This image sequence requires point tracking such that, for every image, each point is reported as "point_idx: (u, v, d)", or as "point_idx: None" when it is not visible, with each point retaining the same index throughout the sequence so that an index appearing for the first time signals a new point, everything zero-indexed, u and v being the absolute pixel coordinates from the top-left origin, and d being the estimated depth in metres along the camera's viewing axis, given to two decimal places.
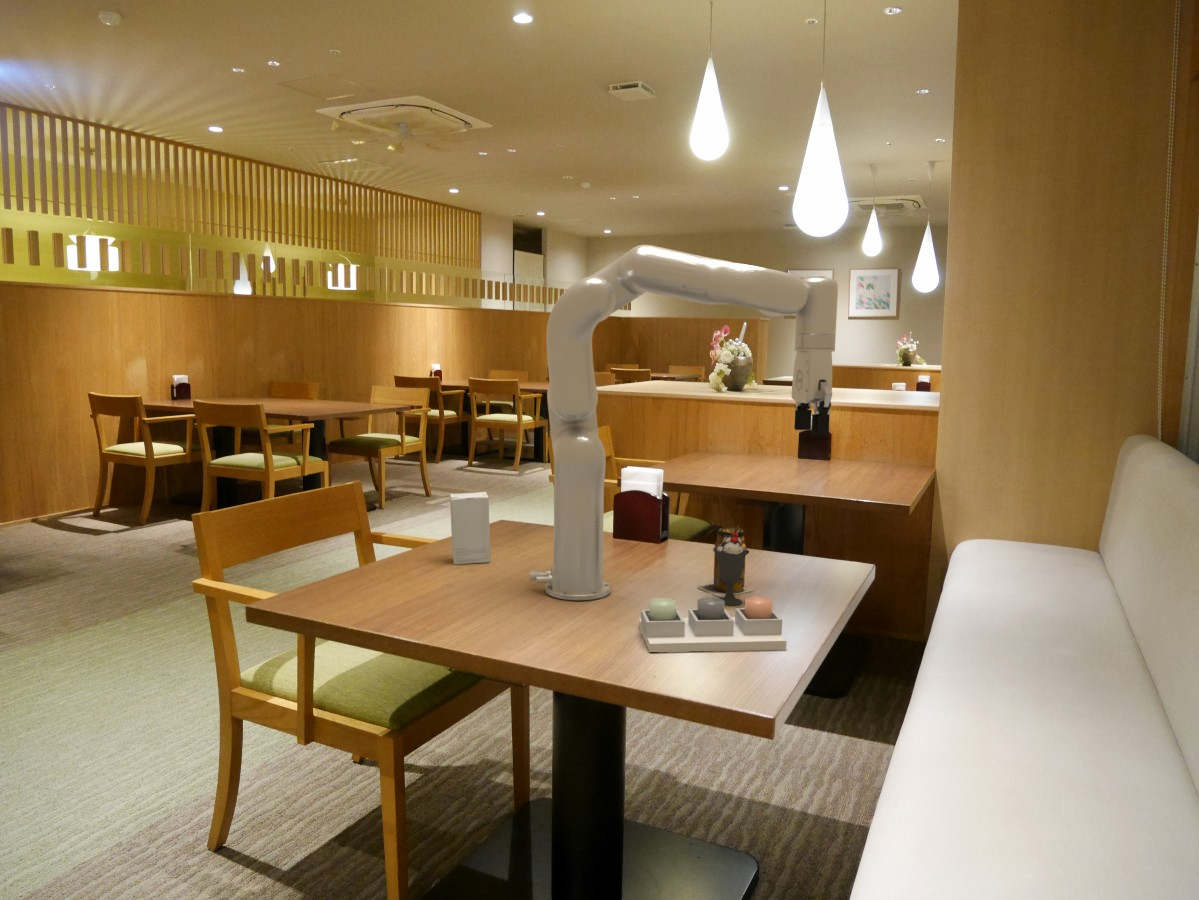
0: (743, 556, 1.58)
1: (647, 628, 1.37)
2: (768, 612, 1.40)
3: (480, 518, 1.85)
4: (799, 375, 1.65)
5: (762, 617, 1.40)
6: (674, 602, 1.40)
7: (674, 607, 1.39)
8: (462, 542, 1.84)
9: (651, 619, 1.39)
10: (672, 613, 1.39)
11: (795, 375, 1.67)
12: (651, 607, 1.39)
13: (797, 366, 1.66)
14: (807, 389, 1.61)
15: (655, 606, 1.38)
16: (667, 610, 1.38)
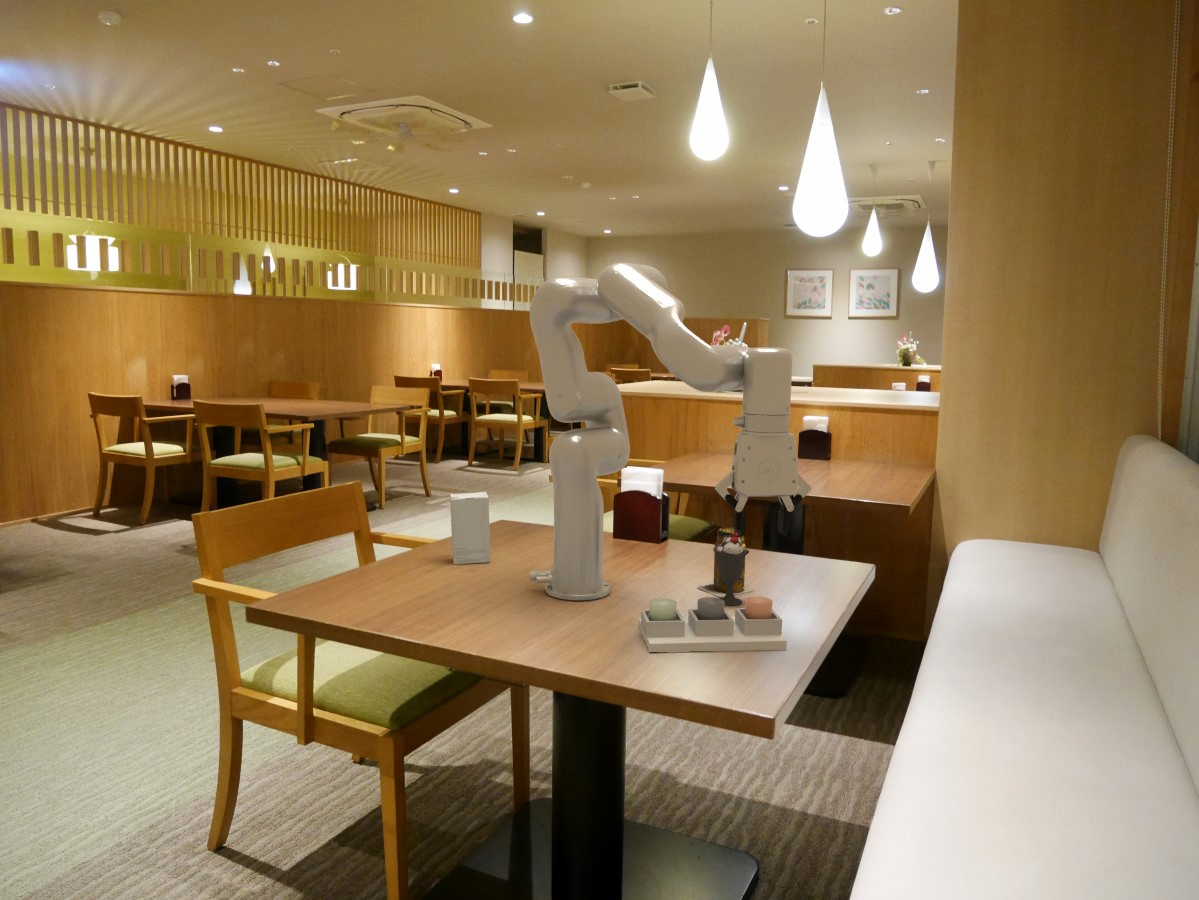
0: (743, 556, 1.58)
1: (647, 628, 1.37)
2: (768, 612, 1.40)
3: (480, 518, 1.85)
4: (767, 465, 1.36)
5: (762, 617, 1.40)
6: (674, 602, 1.40)
7: (674, 607, 1.39)
8: (462, 542, 1.84)
9: (651, 619, 1.39)
10: (672, 613, 1.39)
11: (754, 465, 1.36)
12: (651, 607, 1.39)
13: (761, 454, 1.36)
14: (795, 479, 1.37)
15: (655, 606, 1.38)
16: (667, 610, 1.38)
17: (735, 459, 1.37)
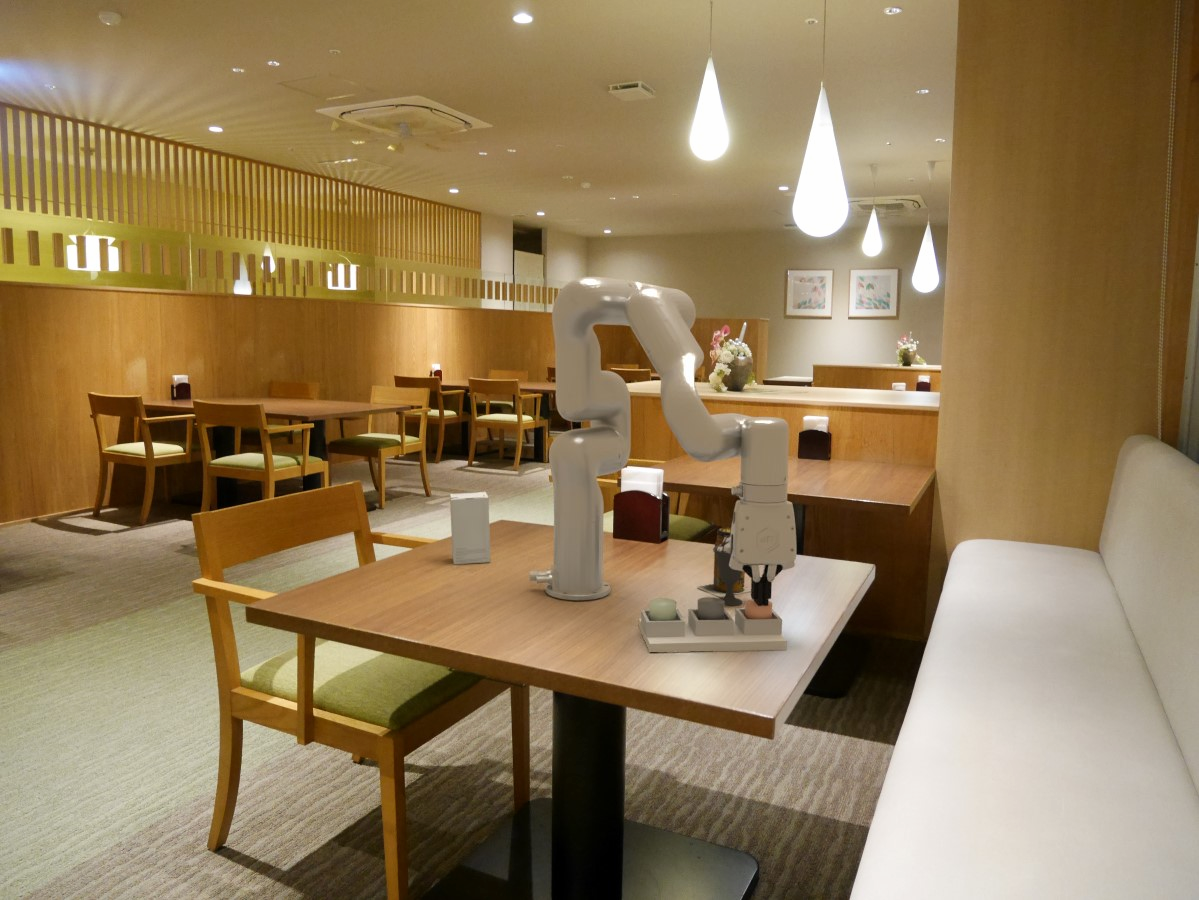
0: None
1: (647, 628, 1.37)
2: (768, 615, 1.40)
3: (480, 518, 1.85)
4: (766, 534, 1.37)
5: None
6: (674, 602, 1.40)
7: (674, 607, 1.39)
8: (462, 542, 1.84)
9: (651, 619, 1.39)
10: (672, 613, 1.39)
11: (752, 535, 1.37)
12: (651, 607, 1.39)
13: (759, 524, 1.37)
14: (793, 548, 1.38)
15: (655, 606, 1.38)
16: (667, 610, 1.38)
17: (734, 528, 1.39)
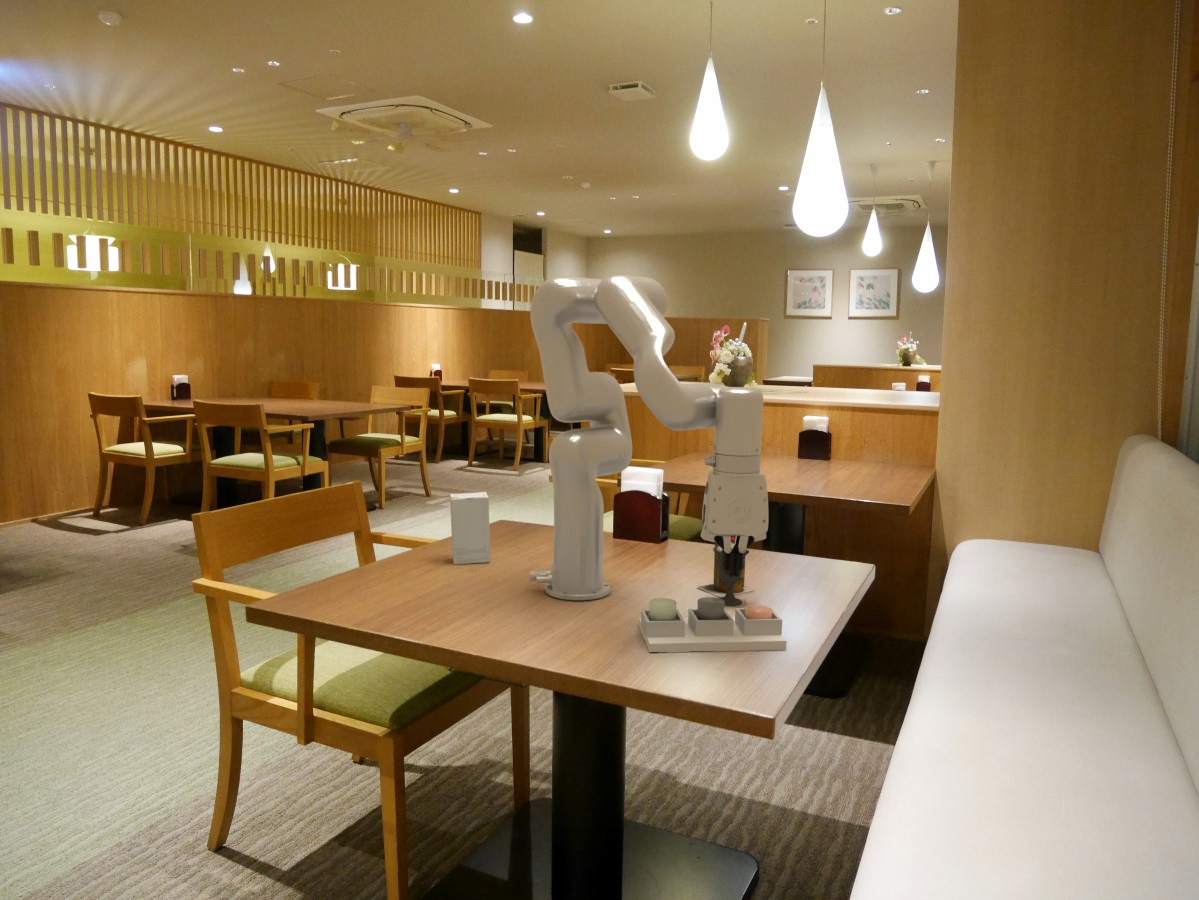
0: (743, 556, 1.58)
1: (647, 628, 1.37)
2: None
3: (480, 518, 1.85)
4: (738, 505, 1.37)
5: None
6: (674, 602, 1.40)
7: (674, 607, 1.39)
8: (462, 542, 1.84)
9: (651, 619, 1.39)
10: (672, 613, 1.39)
11: (724, 505, 1.36)
12: (651, 607, 1.39)
13: (731, 494, 1.36)
14: (765, 519, 1.38)
15: (655, 606, 1.38)
16: (667, 610, 1.38)
17: (706, 498, 1.38)
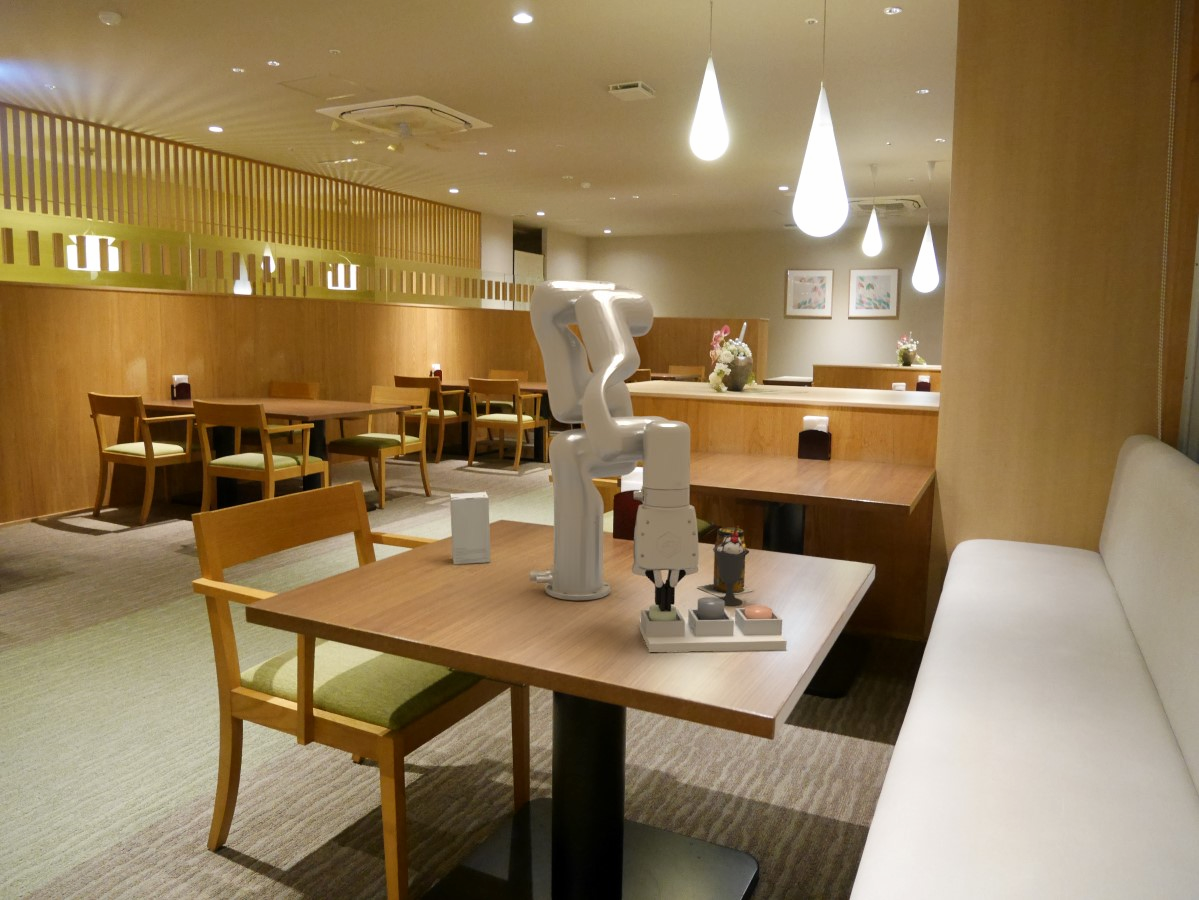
0: (743, 556, 1.58)
1: (647, 628, 1.37)
2: None
3: (480, 518, 1.85)
4: (667, 539, 1.36)
5: None
6: (674, 608, 1.40)
7: (674, 613, 1.39)
8: (462, 542, 1.84)
9: None
10: (671, 619, 1.39)
11: (653, 539, 1.36)
12: (651, 613, 1.39)
13: (660, 528, 1.35)
14: (695, 553, 1.37)
15: (655, 613, 1.39)
16: (667, 616, 1.38)
17: (635, 533, 1.37)
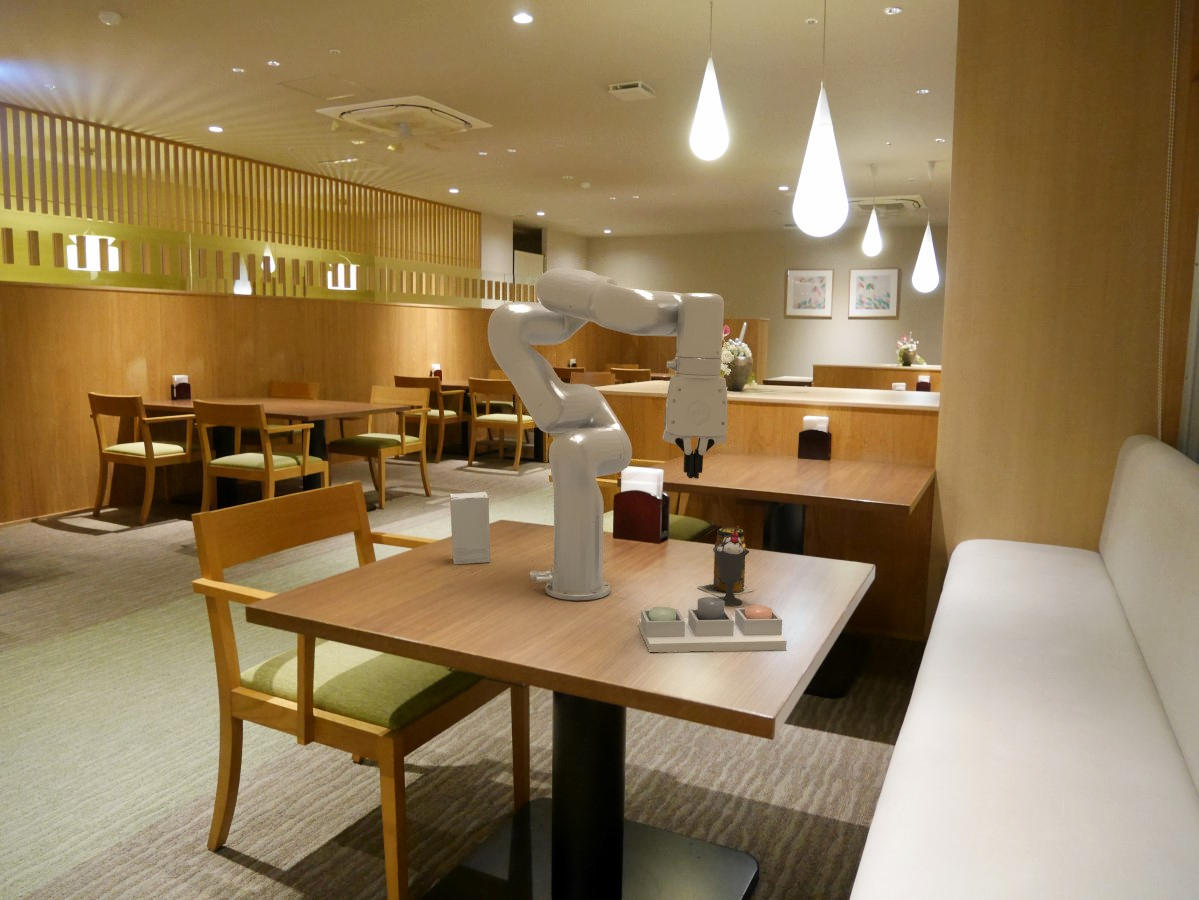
0: (743, 556, 1.58)
1: (647, 628, 1.37)
2: None
3: (480, 518, 1.85)
4: (697, 407, 1.41)
5: None
6: (674, 611, 1.40)
7: (674, 616, 1.39)
8: (462, 542, 1.84)
9: None
10: None
11: (684, 406, 1.41)
12: (651, 616, 1.39)
13: (691, 396, 1.40)
14: (724, 421, 1.42)
15: (655, 615, 1.39)
16: (667, 619, 1.38)
17: (667, 401, 1.42)
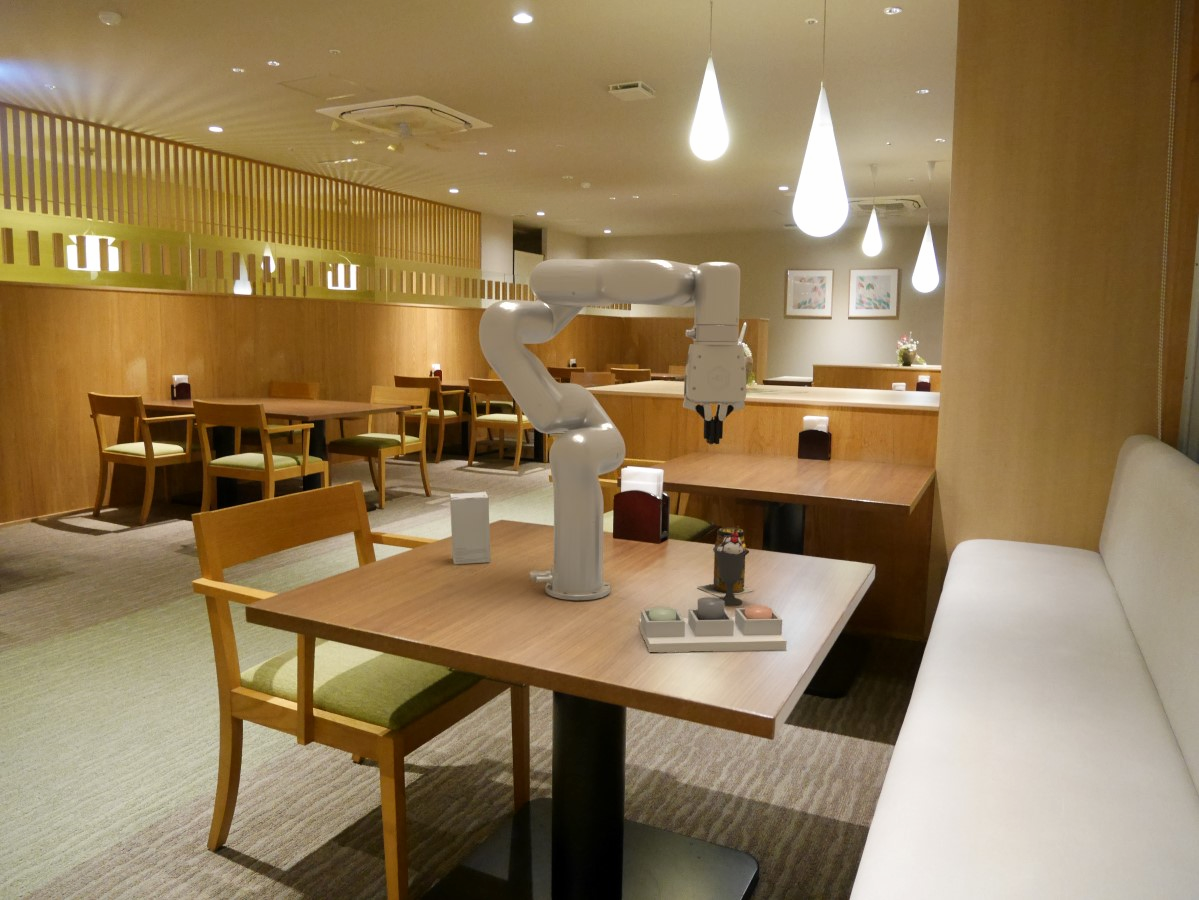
0: (743, 556, 1.58)
1: (647, 628, 1.37)
2: None
3: (480, 518, 1.85)
4: (717, 373, 1.44)
5: None
6: (674, 611, 1.40)
7: (674, 616, 1.39)
8: (462, 542, 1.84)
9: None
10: None
11: (704, 373, 1.44)
12: (651, 616, 1.39)
13: (710, 362, 1.44)
14: (743, 387, 1.45)
15: (655, 615, 1.39)
16: (667, 619, 1.38)
17: (687, 368, 1.46)
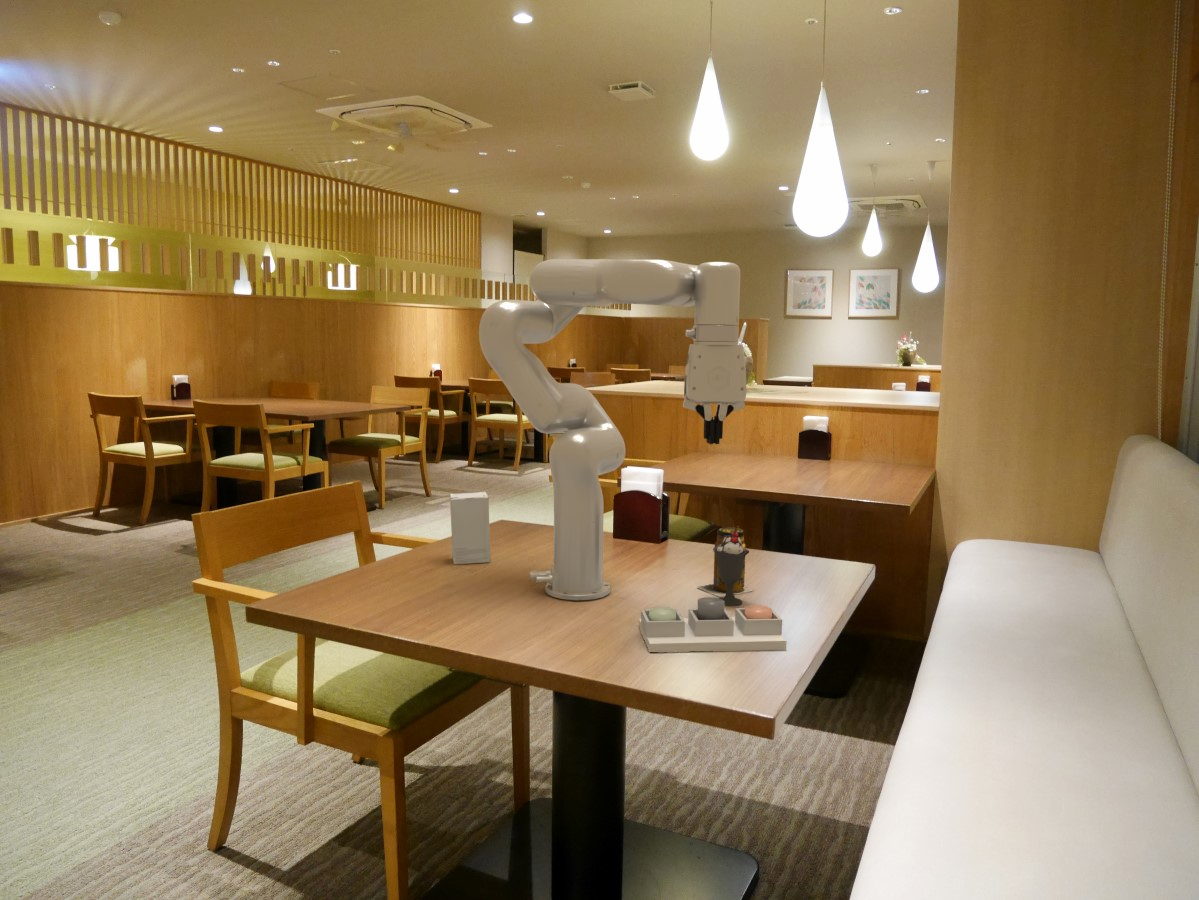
0: (743, 556, 1.58)
1: (647, 628, 1.37)
2: None
3: (480, 518, 1.85)
4: (717, 373, 1.44)
5: None
6: (674, 611, 1.40)
7: (674, 616, 1.39)
8: (462, 542, 1.84)
9: None
10: None
11: (704, 373, 1.44)
12: (651, 616, 1.39)
13: (710, 362, 1.44)
14: (743, 387, 1.45)
15: (655, 615, 1.39)
16: (667, 619, 1.38)
17: (687, 368, 1.46)
